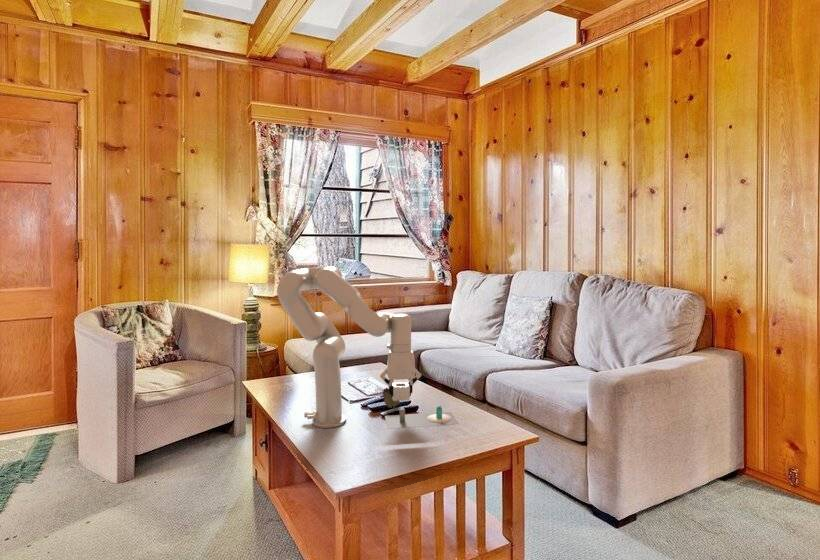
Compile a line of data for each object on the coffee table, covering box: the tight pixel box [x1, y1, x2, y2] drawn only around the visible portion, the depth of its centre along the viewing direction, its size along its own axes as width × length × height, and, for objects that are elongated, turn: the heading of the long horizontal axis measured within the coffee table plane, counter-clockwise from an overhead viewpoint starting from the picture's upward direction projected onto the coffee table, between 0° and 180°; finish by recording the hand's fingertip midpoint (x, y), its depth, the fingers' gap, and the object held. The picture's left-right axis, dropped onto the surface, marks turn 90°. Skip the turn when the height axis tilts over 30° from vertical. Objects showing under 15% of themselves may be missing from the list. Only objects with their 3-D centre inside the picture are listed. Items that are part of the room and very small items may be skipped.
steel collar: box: [392, 381, 411, 402], centre depth 189 cm, size 6×6×5 cm
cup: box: [382, 387, 401, 409], centre depth 206 cm, size 8×7×8 cm
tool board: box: [384, 405, 460, 430], centre depth 190 cm, size 26×13×6 cm, turn 98°
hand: (400, 394), depth 189 cm, fingers closed on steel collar, 6 cm apart
